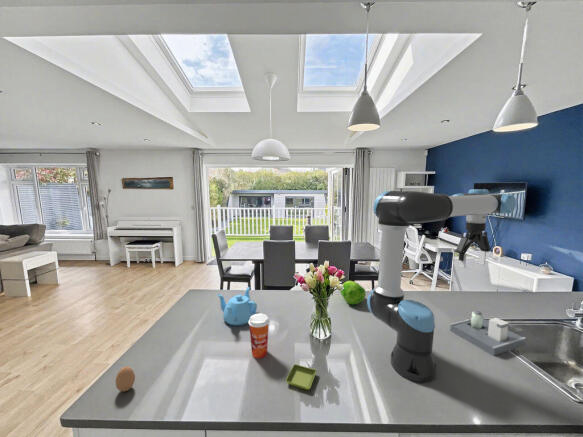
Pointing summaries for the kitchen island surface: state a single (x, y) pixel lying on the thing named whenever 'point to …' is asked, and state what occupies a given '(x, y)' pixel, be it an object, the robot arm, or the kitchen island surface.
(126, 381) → the egg
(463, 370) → the kitchen island surface
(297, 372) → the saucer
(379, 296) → the robot arm
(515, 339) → the grey socket board
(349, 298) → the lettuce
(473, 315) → the peg
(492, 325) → the block
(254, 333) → the coffee cup
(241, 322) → the teapot
